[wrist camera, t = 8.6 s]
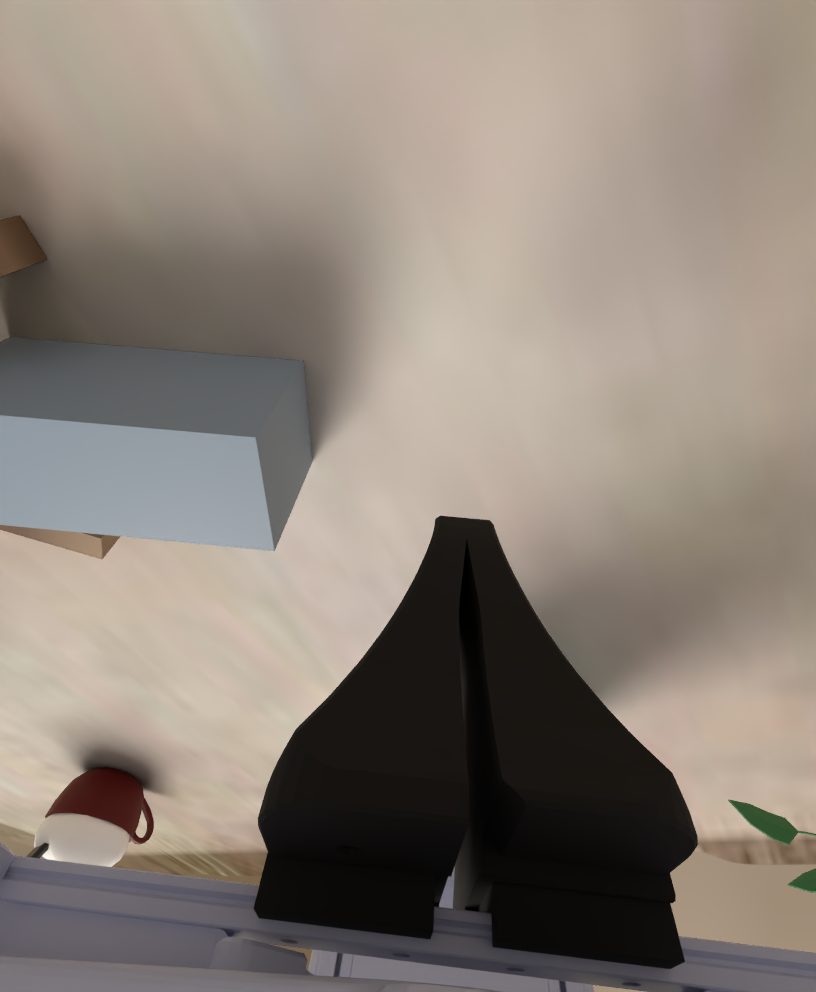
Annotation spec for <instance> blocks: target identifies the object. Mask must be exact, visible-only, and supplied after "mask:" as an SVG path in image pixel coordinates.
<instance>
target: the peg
mask: <svg viewBox="0 0 816 992" xmlns="http://www.w3.org/2000/svg"><path fill="white" fill-rule="evenodd" d="M311 464H312V451H311V439H310V428H309V416H308V404H307V393H306V381H305V370H304V361H300V360H288V359H275V358H263V357H251V356H238V355H226V354H213V353H201V352H188V351H176V350H164V349H151V348H139V347H126V346H114V345H101V344H89V343H76V342H64V341H52V340H39V339H27V338H14V337H9V338H7V339H5V340H4V341H2V342H0V525H7V526H17V527H28V528H38V529H49V530H59V531H70V532H80V533H90V534H101V535H111V536H122V537H132V538H143V539H153V540H164V541H174V542H184V543H195V544H205V545H216V546H226V547H237V548H247V549H257V550H268V551H275V549H276V546H277V544H278V542H279V539H280V537H281V534H282V532H283V530H284V527H285V525H286V523H287V520H288V518H289V516H290V513H291V511H292V508H293V506H294V504H295V501H296V499H297V497H298V494H299V492H300V490H301V487H302V485H303V483H304V480H305V478H306V475H307V473H308V471H309V468H310V466H311Z"/></svg>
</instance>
